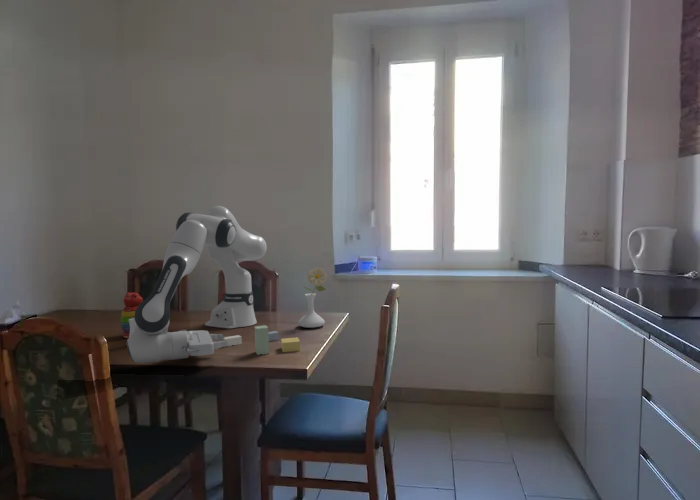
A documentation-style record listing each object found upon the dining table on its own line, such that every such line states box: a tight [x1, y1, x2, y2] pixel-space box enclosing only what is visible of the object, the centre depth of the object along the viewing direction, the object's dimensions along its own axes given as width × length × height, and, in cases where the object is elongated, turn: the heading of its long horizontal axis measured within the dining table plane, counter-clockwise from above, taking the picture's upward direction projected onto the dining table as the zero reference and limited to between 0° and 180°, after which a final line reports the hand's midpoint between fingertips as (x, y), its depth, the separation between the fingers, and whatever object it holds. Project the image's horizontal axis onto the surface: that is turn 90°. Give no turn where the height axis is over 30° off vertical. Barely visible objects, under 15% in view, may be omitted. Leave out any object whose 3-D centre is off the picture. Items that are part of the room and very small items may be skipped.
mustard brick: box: [280, 337, 301, 353], centre depth 173 cm, size 6×6×4 cm
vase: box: [125, 318, 136, 346], centre depth 184 cm, size 8×8×10 cm
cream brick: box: [224, 334, 243, 348], centre depth 181 cm, size 6×3×3 cm, turn 124°
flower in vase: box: [297, 267, 328, 329], centre depth 206 cm, size 13×11×25 cm
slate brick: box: [268, 330, 280, 342], centre depth 186 cm, size 6×3×3 cm, turn 116°
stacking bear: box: [120, 291, 144, 336], centre depth 199 cm, size 11×10×18 cm
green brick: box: [254, 325, 270, 356], centre depth 169 cm, size 4×4×9 cm
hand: (225, 339), depth 164 cm, fingers open, 8 cm apart
